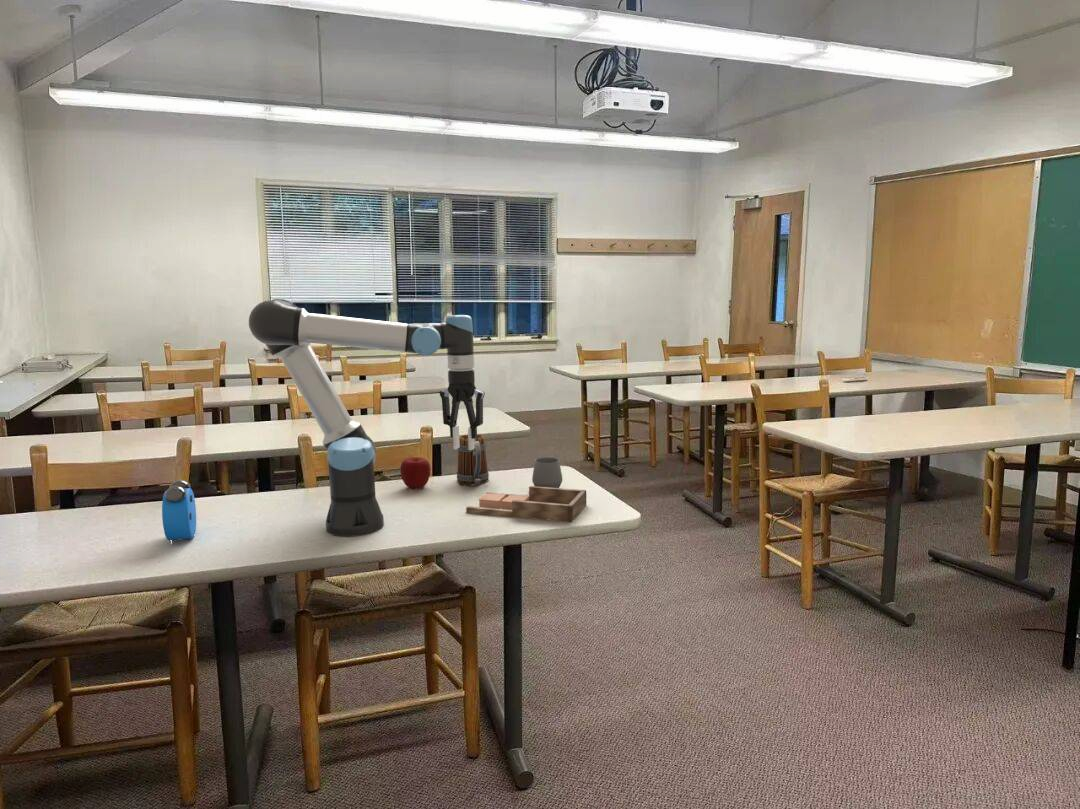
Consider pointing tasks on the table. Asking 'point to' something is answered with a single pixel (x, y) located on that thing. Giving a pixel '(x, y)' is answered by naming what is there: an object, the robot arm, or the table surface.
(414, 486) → the apple
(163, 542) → the table surface
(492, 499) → the tile
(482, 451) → the mug
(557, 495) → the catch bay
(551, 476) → the cup
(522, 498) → the tile
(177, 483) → the alarm clock
